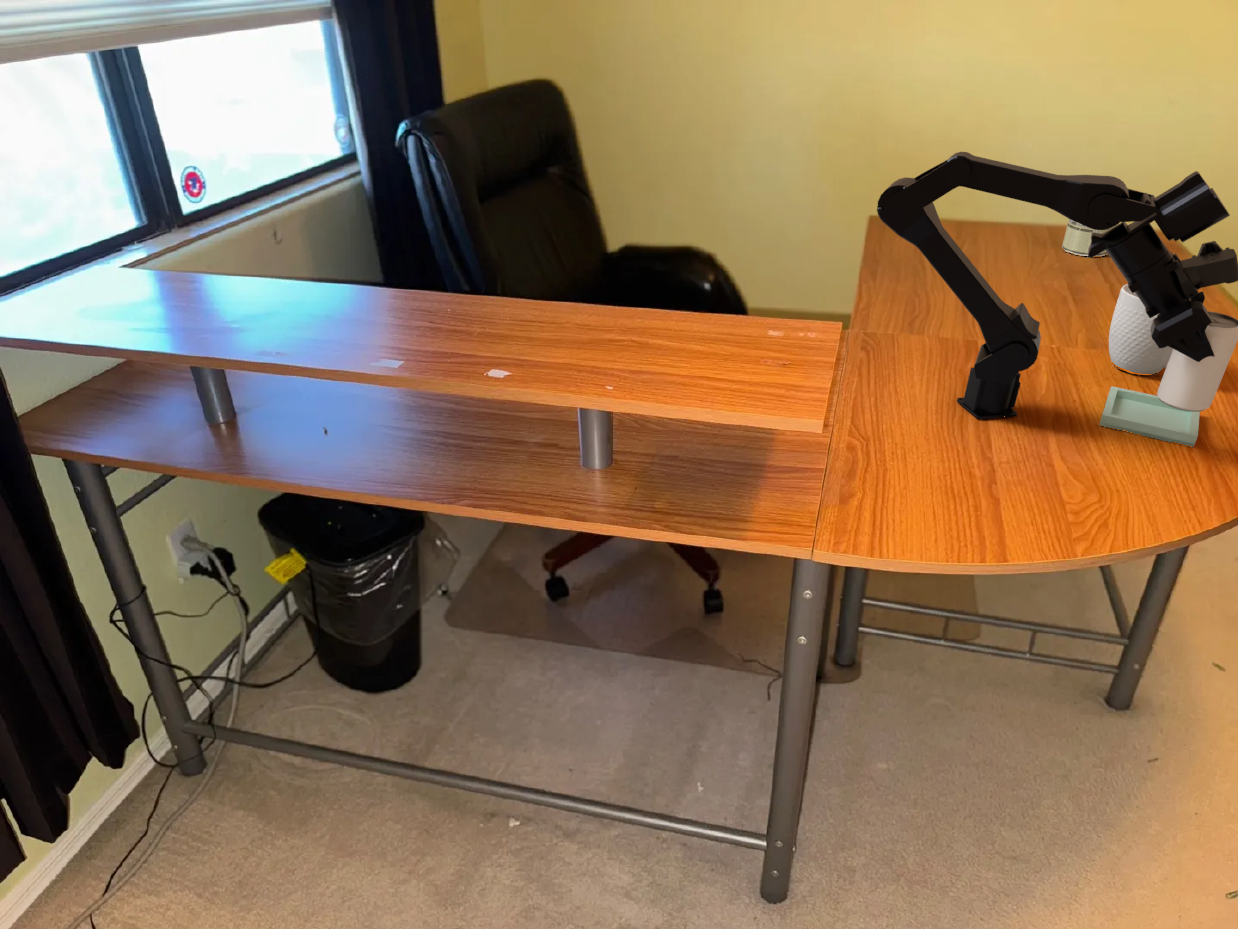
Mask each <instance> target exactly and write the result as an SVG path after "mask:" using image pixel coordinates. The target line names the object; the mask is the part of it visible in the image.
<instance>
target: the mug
mask: <svg viewBox="0 0 1238 929" xmlns="http://www.w3.org/2000/svg"><path fill="white" fill-rule="evenodd" d="M1159 314H1160V313H1159ZM1157 315H1158V314H1157ZM1157 315H1155V316H1153V317H1152V318H1149V316H1148V315H1147V313H1146V311H1145V306H1144V305H1143V303H1142V302H1141V301H1140V299H1139V298H1138V296H1137V295H1136V293H1135V292H1134V293H1132V292H1131V290H1130V289H1129V288H1128V283H1126V284H1123V286H1122V287H1121V288H1120V291H1119V295H1118V298H1117V301H1116V304H1115V307H1114V311H1113V314H1112V319H1111V323H1110V327H1109V332H1108V353H1109V356H1110V361H1111V363H1112V362H1113V363H1114V364H1115V365H1116V366H1118V367H1120V368H1123V369H1126V370H1129V371H1131V372H1135V373H1140V374H1141V373H1142V374H1154V373H1157V374H1159V372H1161V371H1163V369H1164V368H1165V369H1166V367H1167V364H1168V362H1169V359H1170V356H1171V354H1172V351H1173V348H1171V347H1169V346H1167V347H1165V348H1160V349H1159V347H1158V346H1157V344H1156V343H1155V341H1154V340H1153V339H1152V337H1151V330H1150V328H1151V325H1152V323H1153V320H1154V319H1155V318H1157ZM1154 375H1155V374H1154Z"/></svg>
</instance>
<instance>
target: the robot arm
mask: <svg viewBox="0 0 1238 929" xmlns="http://www.w3.org/2000/svg"><path fill="white" fill-rule="evenodd" d="M958 187H963V188H967V189H972V190H975V191H979V192H984V193H987V194H992V195H996V196H1001V197H1004V198H1009V199H1012V200H1016V201H1017V200H1018V201H1021V202H1025V203H1028V204H1029V203H1030V204H1034V205H1038V206H1042V207H1046V208H1047V209H1050V210H1052V211H1054V212H1057V213H1059V214H1060V215H1062V216H1063V217H1065V218H1067V219H1068V220H1069V219H1071V220H1073V221H1075V222H1077V223H1080V224H1082V225H1084V226H1086V227H1089V228H1091V229H1094V230H1107V229H1109V228H1111V227H1113V228H1112V229H1110V230H1109V231H1107V232H1105V233H1095V232H1093V233H1092V234H1091V244H1090V246H1089V249H1088V256H1089V257H1090V258H1092V257H1094V256H1096V255H1097V254H1099V253H1101V252H1102V251H1104V250H1106V252H1107V253H1108V256H1109V258H1110V259H1111V260H1112V262H1113V263H1114V265H1115V266H1116V267H1117V269H1118V270H1119V271H1120V273H1121V275H1122V276H1123V278H1124V280H1126V282H1127V284H1128V288H1129V289H1130V290H1131V292H1132V293H1134V292H1135V293H1136V295H1137V296H1138V298H1139V299H1140V301H1141V302H1142V303H1143V305H1144V306H1145V311H1146V313H1147V315H1148V316H1149V318H1152V317H1153V316H1155V315H1157V314H1158V315H1157V318H1155V319H1154V320H1153V323H1152V325H1151V328H1150V330H1151V337H1152V339H1153V340H1154V341H1155V343H1156V344H1157V346H1158V347H1159V349H1160V348H1165V347H1167V346H1169V347H1171V348H1173V349H1175V350H1177V351H1178V352H1180V353H1182V354H1184V355H1186V356H1188V357H1190V358H1191V359H1193V360H1195V361H1197V362H1200V361H1201V360H1202V359H1204V358H1206V357H1209V356H1213V357H1215V356H1214V353H1213V351H1212V348H1211V346H1210V343H1209V340H1208V338H1207V335H1206V333H1205V330H1206V328H1207V326H1208V325H1209V324H1210V323H1212V320H1211V316H1210V313H1209V312H1208V311H1209V310H1207V308H1206V306H1205V305H1204V303H1205V299H1206V297H1205V293H1204V291H1199V290H1200V289H1203V288H1207V287H1212V286H1216V285H1222V284H1227V285H1228V284H1233V283H1236V282H1238V254H1237V252H1236V251H1235V249H1234V248H1230V247H1229V246H1228V247H1225V249H1223V248H1222V247H1221V246H1220V245H1219V243H1218V242H1217V241H1215V240H1212V241H1208V242H1204V243H1202V244H1201V246H1200V248H1199V251H1198V253H1197V255H1196V254H1194V255H1192V256H1191V257H1190V258H1186V259H1183V260H1181V259H1180V257H1179V256H1178V254H1177V253H1174V254H1173V252H1170V250H1169V249H1168V247H1167V246H1166V245H1165V243H1164V241H1163V240H1162V239H1161V237H1160V236H1159V235H1158V233H1157V232H1156V230H1155V229H1154V227H1153V226H1152V224H1151V223H1153V222H1155V223H1156V225H1157V226H1158V228H1159V229H1160V231H1161V233H1162V234H1163V235H1164V237H1165V238H1166V239H1167V240H1168V241H1169V242H1170V241H1172V240H1173V241H1174V242H1177V241H1181V243H1185V242H1187V241H1188V240H1190V239H1191V238H1193V237H1195V236H1196V235H1198V234H1200V233H1202V232H1203V231H1206V230H1208V229H1209V228H1211V227H1212V226H1214V225H1216V224H1218V223H1220V222H1221V221H1223V220H1225V219H1227V218H1228V217H1230V216H1231V214H1230V213H1229V210H1228V209H1227V208H1226V207H1225V205H1224V204H1223V202H1222V201H1221V199H1220V197H1219V196H1218V194H1217V193H1216V192H1215V190H1214V189H1213V187H1211V188H1210V186H1209V184H1208V183H1207V182H1206V181H1205V179H1204V178H1203V176H1202V174H1200V172H1199V171H1194V172H1192V173H1190V174H1189V175H1187V176H1185V177H1184V179H1182V180H1181V181H1180V182H1178V183H1177V184H1175V185H1173V186H1172V187H1170V188H1169V189H1167V190H1165V191H1164V192H1162V193H1160V194H1159V195H1157V196H1156V197H1155V195H1154V194H1151V193H1147V192H1144V191H1138V190H1135V189H1130V188H1128V186H1127V185H1126V184H1125V182H1124V181H1123V180H1122V179H1120V178H1118V177H1115V176H1111V175H1097V174H1076V175H1075V174H1074V175H1073V174H1071V175H1070V174H1069V175H1066V174H1055V173H1051V172H1047V171H1042V170H1038V169H1034V168H1030V167H1029V168H1028V167H1025V166H1020V165H1015V164H1012V163H1007V162H1003V161H998V160H995V159H989V158H986V157H982V156H981V157H980V156H977V155H974V154H971V153H970V152H967V151H959V152H955V153H954V154H952V155H950V157H949V158H948V159H945V160H944V161H942V162H940V163H939V164H937V165H934V166H933V167H931V168H929V169H927V170H926V171H924V172H923V173H920V174H919V175H917V176H916V177H902V178H898V179H897V180H895V181H893V182H892V183H891V184H890V185H889V186H888V187H887V188H886V189H885V190H884V191H883V192H882V193H881V194H880V196H879V198H878V200H877V208H876V212H877V215H878V218H879V219H880V221H881V222H882V223H883V224H884V225H885V226H887V227H888V228H889V229H890V230H891V231H892V232H894V233H895V234H896V235H897V236H898V237H900V238H901V239H903V240H905V241H907V242H909V243H910V244H911V245H913V246H915V247H916V248H917V249H918V250H919V251H920V252H921V254H922V255H923V256H924V257H925V259H926V260H927V261H928V262H929V264H930V265H931V266H932V268H933V269H934V270H935V271H936V273H937V274H938V275H939V276H940V277H941V279H942V280H943V281H944V282H945V284H946V285H947V286H948V287H949V288H950V290H951V291H952V293H954V295H955V296H956V298H958V300H959V301H960V302H961V304H963V306H964V308H966V310H967V311H968V312H969V313H970V316H972V318H973V319H974V320H975V322H977V325H978V327H979V330H980V332H981V333H982V334H981V335H982V336H983V339H984V342H985V343H983V344H981V346H980V347H979V351H978V354H977V357H976V358H975V359H976V360H975V363H974V365H973V366H974V367H970V370H969V374H968V380H967V384H966V388H965V392H964V395H963V397H957V398H956V402H957V403H958V404H959V405H961V406H962V407H963V408H964V409H965V410H966V411H967V412H969V413H970V414H971V415H972V416H974V418H976V419H979V420H987V419H988V418H989V419H996V418H995V417H1003V418H1009V417H1008V416H1016V415H1017V416H1018V412H1017V411H1016V410H1015V409H1014V407H1015V406H1016V402H1017V398H1018V395H1019V392H1020V387H1021V382H1020V379H1021V375H1022V374H1021V373H1020V372H1022V371H1025V370H1028V369H1029V368H1031V367H1032V366H1033V365H1034V364H1035V362H1036V361H1037V359H1038V355H1039V350H1040V344H1041V340H1042V339H1041V338H1042V336H1041V332H1040V330H1039V329H1040V325H1041V322H1040V321H1038V320H1036V319H1034V318H1033V317H1032V315H1031V314H1030V312H1029V311H1028V308H1027V307H1026V305H1025V304H1024V303H1022V302H1021V303H1020V304H1019V305H1017V306H1016V307H1015V308H1014V307H1013V306H1010V305H1009V304H1008V303H1006V302H1005V301H1003V299H1001V298H1000V296H999V295H998V294H997V292H995V290H994V289H993V287H991V284H989V282H987V280H986V279H985V277H984V276H983V275H982V274H981V272H980V271H979V270H978V269H977V267H976V266H975V265H974V263H972V261H971V260H970V258H969V257H967V256H968V255H966V254H965V253H964V251H963V250H962V248H961V247H960V246H959V245H958V243H957V242H956V241H955V240H954V239H953V238H952V237H951V235H950V234H949V232H948V231H947V230H946V228H944V226H943V224H942V222H941V220H940V217H939V215H938V211H937V209H936V206H935V204H934V202H935V201H937V200H938V199H941V197H944V196H945V195H947V194H948V193H950V192H951V191H953V190H954V189H956V188H958ZM1127 223H1130V224H1127ZM1114 226H1115V227H1114ZM1089 257H1088V258H1089ZM1090 258H1089V259H1090ZM1092 259H1093V258H1092ZM1159 313H1160V314H1159ZM1004 416H1005V417H1004ZM1017 416H1016V417H1017ZM985 418H986V419H985ZM989 419H988V420H989Z"/></svg>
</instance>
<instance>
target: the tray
mask: <svg viewBox="0 0 1238 929" xmlns="http://www.w3.org/2000/svg"><path fill="white" fill-rule="evenodd" d="M1104 407H1105V408H1103V411H1102V414H1101V417H1100V421H1099V425H1101V426H1104V427H1103V428H1106V427H1110V428H1114V429H1119V430H1125V431H1128V432H1132V433H1135V434H1134V435H1136V434H1140V435H1143V436H1142V437H1145V436H1147V437H1146V438H1149V437H1151V438H1150V439H1153V438H1155V440H1158V439H1159V441H1162V442H1166V441H1168V442H1167V443H1171V442H1176V443H1180V444H1184V445H1188V446H1192V447H1193V448H1194V447H1195V444H1196V442H1197V439H1198V436H1199V428H1200V426H1199V425H1200V414H1201V411H1199V412H1191V411H1184V410H1179V409H1176V408H1173V407H1170V406H1168V405H1166V404H1164V403H1163V402H1161V401H1160V400H1159V398H1158V396H1157V394H1156V395H1154V394H1149V393H1145V392H1142V391H1136V390H1132V389H1126V388H1122V387H1116V386H1112V385H1111V386H1110V389H1109V391H1108V395H1107V399H1106V402H1105V404H1104ZM1099 425H1098V426H1099ZM1101 426H1100V427H1101ZM1110 428H1109V429H1110ZM1114 429H1113V430H1114ZM1119 430H1118V431H1119ZM1132 433H1131V434H1132ZM1140 435H1139V436H1140ZM1184 445H1183V446H1184ZM1188 446H1187V447H1188ZM1192 447H1191V448H1192Z"/></svg>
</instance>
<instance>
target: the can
mask: <svg viewBox="0 0 1238 929" xmlns="http://www.w3.org/2000/svg"><path fill="white" fill-rule="evenodd" d="M1207 311H1208V312H1209V313H1210V316H1211V320H1212V323H1210V324H1209V325H1208V326H1207V328H1206V330H1205V333H1206V335H1207V338H1208V340H1209V343H1210V346H1211V348H1212V351H1213V353H1214V356H1215V357H1213V356H1209V357H1206V358H1204V359H1202V360H1201V361H1200V362H1197V361H1195V360H1193V359H1191V358H1190V357H1188V356H1186V355H1184V354H1182V353H1180V352H1178V351H1177V350H1175V349H1173V351H1172V354H1171V356H1170V359H1169V362H1168V364H1167V367H1166V368H1165V370H1164V373H1163V375H1162V378H1161V381H1160V384H1159V386H1158V389H1157V391H1156V396H1158V398H1159V400H1160V401H1161V402H1163V403H1164V404H1166V405H1168V406H1170V407H1173V408H1176V409H1179V410H1184V411H1191V412H1199V411H1200V412H1203V411H1205V410H1208V409H1209V408H1211V406H1212V403H1213V401H1214V399H1215V397H1216V394H1217V391H1218V389H1219V387H1220V384H1221V382H1222V379H1223V377H1224V374H1225V373H1226V370H1227V367H1228V364H1229V362H1230V361H1231V357H1232V355H1233V353H1234V351H1235V348H1236V345H1237V342H1238V319H1237V318H1235V317H1232V316H1231V315H1228V314H1224V313H1222V312H1216V311H1209V310H1207Z"/></svg>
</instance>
